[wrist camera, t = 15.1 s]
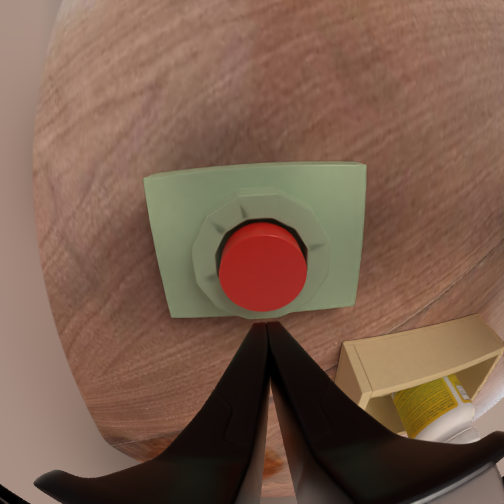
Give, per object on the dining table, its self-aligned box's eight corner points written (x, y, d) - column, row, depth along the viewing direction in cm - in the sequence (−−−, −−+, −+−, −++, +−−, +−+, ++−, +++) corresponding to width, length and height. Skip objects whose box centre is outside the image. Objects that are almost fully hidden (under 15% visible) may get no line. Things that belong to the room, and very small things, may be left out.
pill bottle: (375, 392, 23) (409, 483, 13) (397, 348, 21) (449, 450, 11) (423, 382, 24) (461, 460, 13) (446, 340, 21) (501, 422, 11)
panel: (355, 161, 15) (381, 169, 12) (347, 292, 19) (363, 322, 16) (152, 173, 15) (129, 184, 12) (176, 303, 19) (164, 336, 16)
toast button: (300, 219, 13) (307, 232, 12) (299, 290, 15) (305, 308, 13) (217, 224, 13) (213, 237, 12) (226, 295, 15) (224, 314, 14)
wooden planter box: (477, 312, 21) (507, 345, 16) (447, 376, 25) (466, 409, 20) (342, 341, 21) (362, 393, 16) (328, 407, 25) (338, 451, 20)
